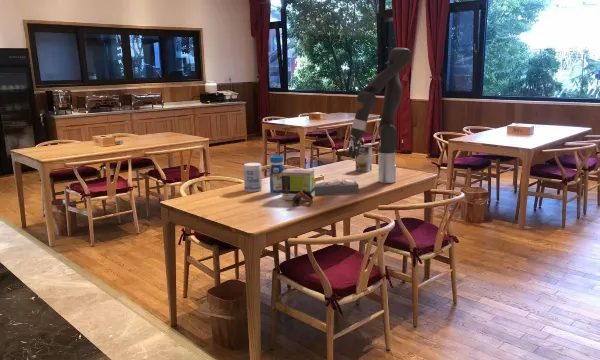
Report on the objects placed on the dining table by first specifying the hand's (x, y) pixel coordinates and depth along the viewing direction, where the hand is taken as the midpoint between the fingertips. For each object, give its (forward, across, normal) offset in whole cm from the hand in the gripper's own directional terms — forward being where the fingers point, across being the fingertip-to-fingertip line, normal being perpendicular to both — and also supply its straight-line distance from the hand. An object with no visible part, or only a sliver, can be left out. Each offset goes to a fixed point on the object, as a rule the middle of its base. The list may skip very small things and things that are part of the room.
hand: (350, 156), depth 276 cm
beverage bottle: (+27, -5, +36) cm, 45 cm away
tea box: (+24, -18, +26) cm, 40 cm away
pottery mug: (+24, -32, +27) cm, 49 cm away
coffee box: (+13, +39, -22) cm, 47 cm away
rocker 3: (+13, -10, 0) cm, 16 cm away
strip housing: (+19, -10, +7) cm, 23 cm away
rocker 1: (+17, -10, +16) cm, 25 cm away
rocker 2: (+15, -10, +8) cm, 20 cm away
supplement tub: (+31, +3, +48) cm, 57 cm away
